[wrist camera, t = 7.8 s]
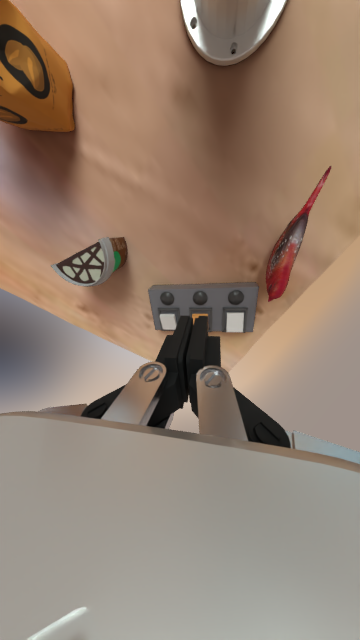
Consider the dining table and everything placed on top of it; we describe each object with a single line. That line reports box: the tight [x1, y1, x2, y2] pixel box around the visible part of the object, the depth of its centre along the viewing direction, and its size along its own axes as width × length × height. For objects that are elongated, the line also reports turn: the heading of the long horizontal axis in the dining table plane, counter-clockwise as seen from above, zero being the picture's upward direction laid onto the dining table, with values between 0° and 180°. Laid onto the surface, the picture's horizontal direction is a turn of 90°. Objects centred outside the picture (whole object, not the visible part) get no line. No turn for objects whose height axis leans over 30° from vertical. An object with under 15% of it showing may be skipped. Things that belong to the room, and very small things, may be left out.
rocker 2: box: [226, 312, 244, 332], centre depth 35 cm, size 4×3×1 cm
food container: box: [51, 237, 127, 286], centre depth 34 cm, size 12×6×10 cm, turn 112°
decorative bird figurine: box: [266, 166, 331, 302], centre depth 26 cm, size 3×18×10 cm, turn 169°
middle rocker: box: [192, 314, 208, 325], centre depth 37 cm, size 4×3×1 cm
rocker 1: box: [160, 314, 177, 330], centre depth 38 cm, size 4×3×1 cm
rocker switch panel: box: [148, 282, 259, 333], centre depth 38 cm, size 10×22×4 cm, turn 95°
